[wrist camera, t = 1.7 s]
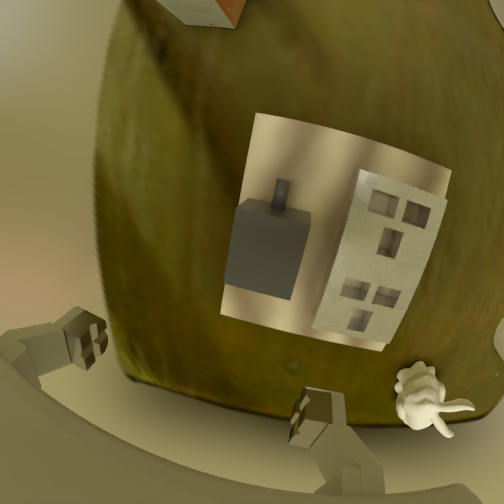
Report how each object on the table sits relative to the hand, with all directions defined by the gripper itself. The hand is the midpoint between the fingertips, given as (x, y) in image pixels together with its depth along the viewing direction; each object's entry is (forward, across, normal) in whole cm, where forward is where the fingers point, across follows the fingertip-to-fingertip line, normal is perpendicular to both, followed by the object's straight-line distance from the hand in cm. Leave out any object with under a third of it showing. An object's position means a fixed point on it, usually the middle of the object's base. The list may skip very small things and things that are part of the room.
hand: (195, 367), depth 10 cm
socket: (+19, -12, 0) cm, 22 cm away
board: (+21, -7, 0) cm, 22 cm away
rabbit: (+21, -26, +15) cm, 37 cm away
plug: (+19, -1, -1) cm, 19 cm away
